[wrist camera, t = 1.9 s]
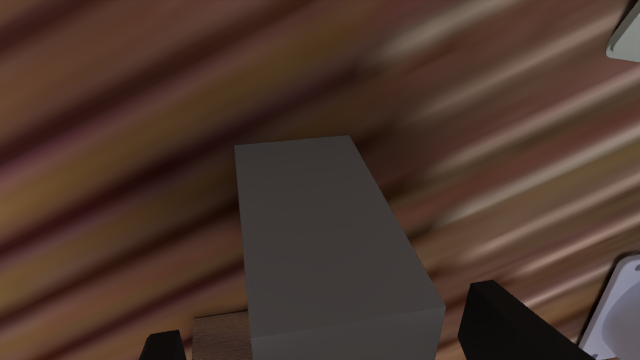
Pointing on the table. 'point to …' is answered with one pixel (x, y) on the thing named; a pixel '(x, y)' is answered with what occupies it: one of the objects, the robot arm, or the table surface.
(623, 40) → the metal bracket
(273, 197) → the square peg
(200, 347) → the hole rail
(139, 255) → the table surface
